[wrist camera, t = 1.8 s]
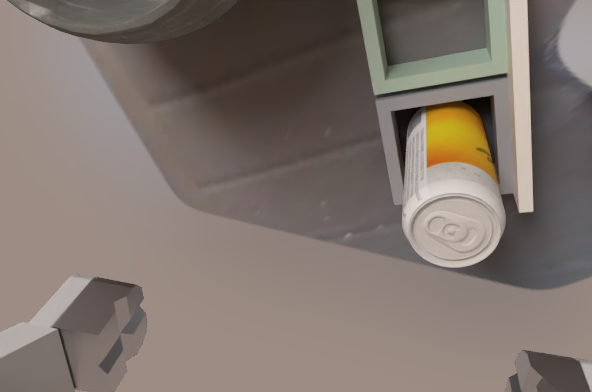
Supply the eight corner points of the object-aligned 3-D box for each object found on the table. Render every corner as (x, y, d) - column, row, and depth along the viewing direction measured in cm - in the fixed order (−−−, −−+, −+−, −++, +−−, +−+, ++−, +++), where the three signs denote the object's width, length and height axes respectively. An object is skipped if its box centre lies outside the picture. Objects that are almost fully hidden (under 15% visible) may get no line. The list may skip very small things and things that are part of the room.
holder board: (509, -88, 34) (524, -83, 29) (520, 173, 43) (533, 211, 38) (354, -48, 37) (344, -37, 32) (396, 187, 46) (393, 224, 41)
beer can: (459, 172, 44) (474, 286, 32) (395, 145, 44) (385, 249, 32) (497, 112, 41) (530, 214, 28) (427, 83, 41) (430, 173, 28)
